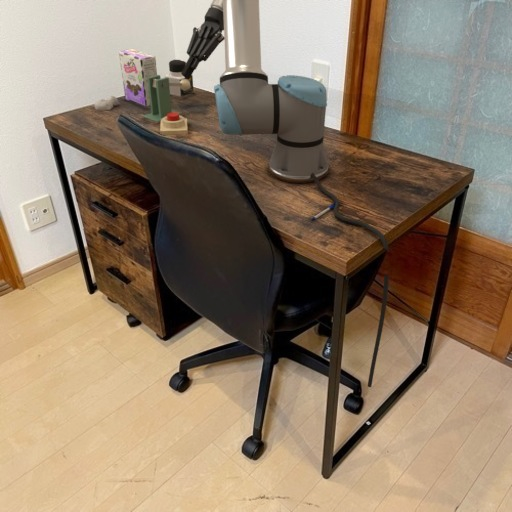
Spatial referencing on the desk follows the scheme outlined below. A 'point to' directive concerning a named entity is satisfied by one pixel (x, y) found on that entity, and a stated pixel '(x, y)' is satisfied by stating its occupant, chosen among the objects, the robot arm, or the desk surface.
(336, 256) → the desk surface
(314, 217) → the ballpoint pen
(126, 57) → the candy box
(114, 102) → the pale two-lobed sculpture
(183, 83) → the lever
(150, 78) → the bracket
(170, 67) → the medicine bottle
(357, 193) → the desk surface
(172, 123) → the button box
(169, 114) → the button
